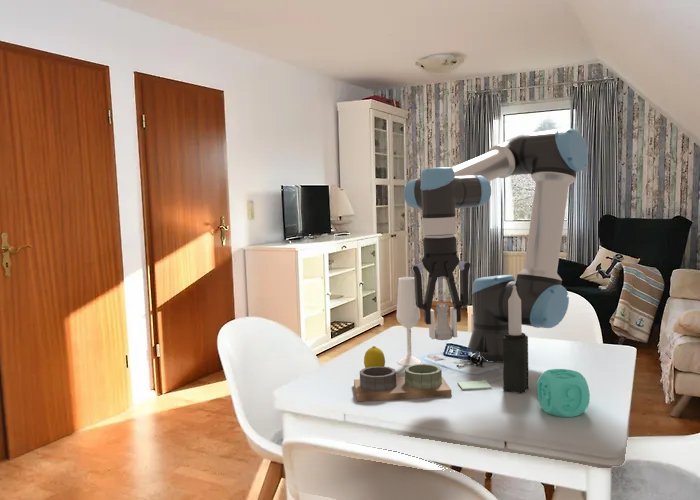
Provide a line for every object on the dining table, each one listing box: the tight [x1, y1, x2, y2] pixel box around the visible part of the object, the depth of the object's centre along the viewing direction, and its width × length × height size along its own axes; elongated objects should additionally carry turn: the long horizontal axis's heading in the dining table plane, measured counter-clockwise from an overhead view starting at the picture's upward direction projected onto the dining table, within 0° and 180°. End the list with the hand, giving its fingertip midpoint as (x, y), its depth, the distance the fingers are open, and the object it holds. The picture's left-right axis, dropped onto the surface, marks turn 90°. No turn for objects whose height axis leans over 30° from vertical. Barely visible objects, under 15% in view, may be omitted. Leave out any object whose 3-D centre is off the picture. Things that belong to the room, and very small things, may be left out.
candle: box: [502, 285, 530, 394], centre depth 140 cm, size 5×5×25 cm
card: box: [457, 380, 492, 391], centre depth 145 cm, size 7×5×1 cm
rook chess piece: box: [434, 302, 454, 341], centre depth 137 cm, size 4×4×8 cm
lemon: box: [363, 345, 386, 368], centre depth 156 cm, size 6×6×8 cm
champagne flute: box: [396, 276, 422, 367], centre depth 167 cm, size 7×7×24 cm
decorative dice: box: [536, 368, 591, 418], centre depth 126 cm, size 8×8×8 cm
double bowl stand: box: [353, 363, 453, 402], centre depth 144 cm, size 22×12×5 cm, turn 93°
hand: (443, 336), depth 137 cm, fingers closed on rook chess piece, 4 cm apart
